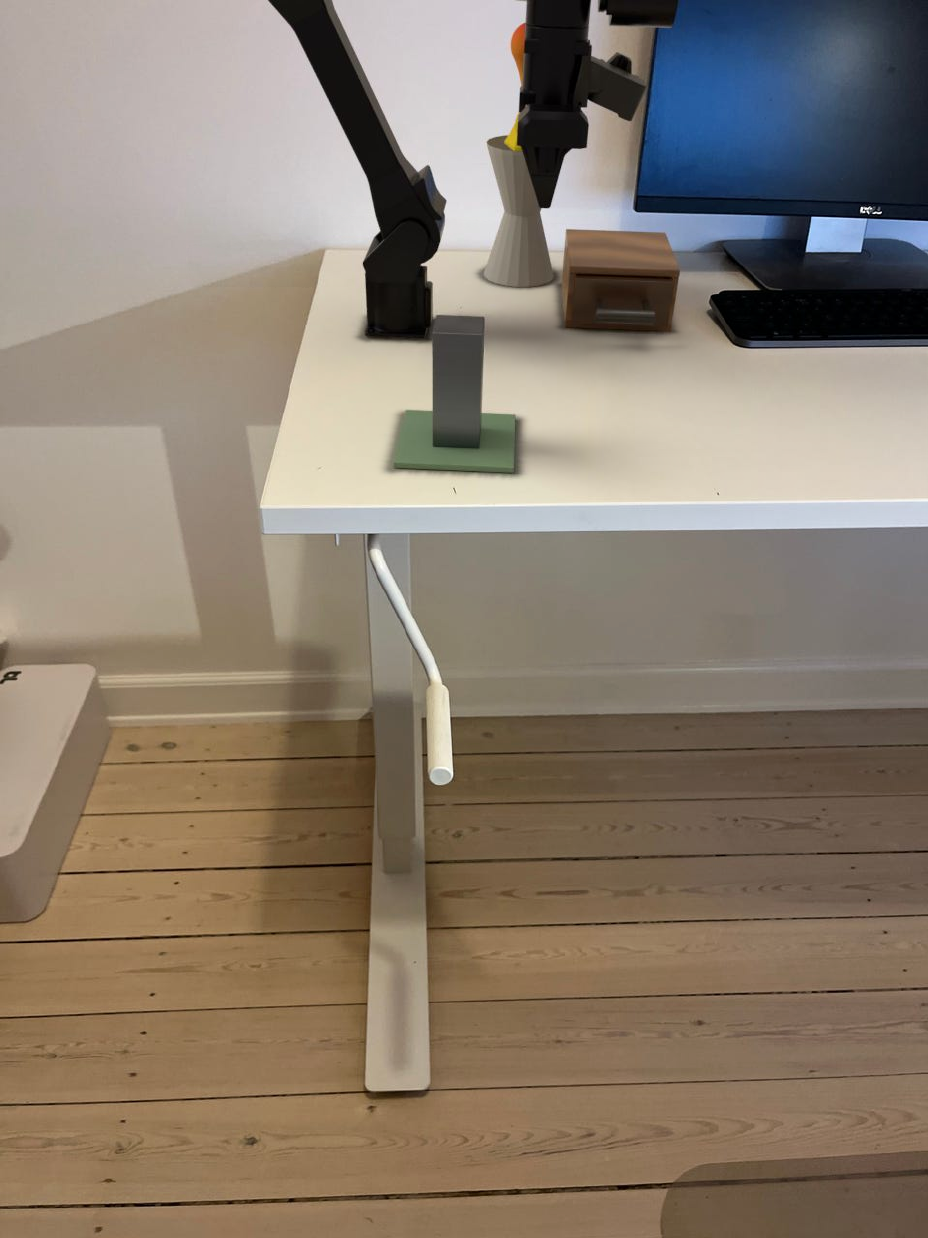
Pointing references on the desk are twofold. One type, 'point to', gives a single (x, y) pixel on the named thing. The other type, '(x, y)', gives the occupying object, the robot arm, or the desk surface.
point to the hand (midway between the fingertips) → (544, 207)
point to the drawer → (621, 300)
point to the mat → (488, 457)
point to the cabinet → (616, 264)
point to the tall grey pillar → (457, 380)
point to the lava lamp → (517, 207)
